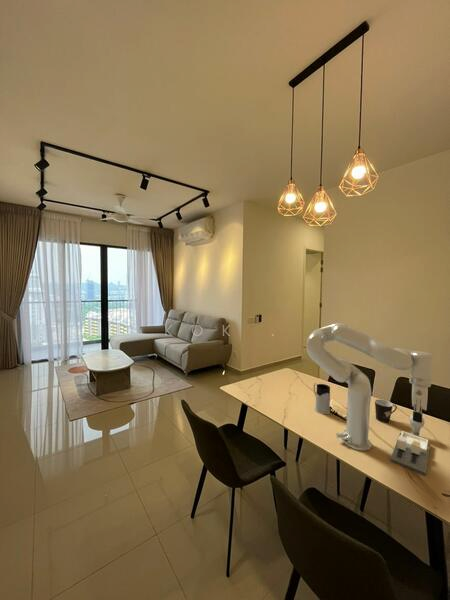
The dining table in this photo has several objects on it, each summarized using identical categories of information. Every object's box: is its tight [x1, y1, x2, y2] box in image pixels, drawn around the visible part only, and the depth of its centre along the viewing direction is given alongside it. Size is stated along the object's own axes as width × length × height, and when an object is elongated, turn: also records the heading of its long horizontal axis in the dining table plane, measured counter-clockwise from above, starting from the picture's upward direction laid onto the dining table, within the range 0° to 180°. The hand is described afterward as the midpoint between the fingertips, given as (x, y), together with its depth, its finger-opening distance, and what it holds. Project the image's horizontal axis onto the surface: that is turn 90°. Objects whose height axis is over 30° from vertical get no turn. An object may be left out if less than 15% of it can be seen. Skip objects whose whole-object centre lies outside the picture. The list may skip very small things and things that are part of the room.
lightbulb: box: [409, 414, 425, 437], centre depth 127 cm, size 6×6×11 cm
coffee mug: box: [374, 398, 398, 424], centre depth 141 cm, size 12×9×10 cm
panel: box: [389, 432, 431, 477], centre depth 114 cm, size 26×12×1 cm, turn 138°
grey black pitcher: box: [313, 382, 331, 415], centre depth 154 cm, size 9×14×15 cm, turn 12°
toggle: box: [397, 435, 407, 451], centre depth 116 cm, size 4×3×4 cm
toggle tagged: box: [411, 440, 421, 455], centre depth 113 cm, size 4×3×4 cm
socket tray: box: [400, 430, 429, 453], centre depth 120 cm, size 10×10×2 cm
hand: (417, 421), depth 110 cm, fingers closed
